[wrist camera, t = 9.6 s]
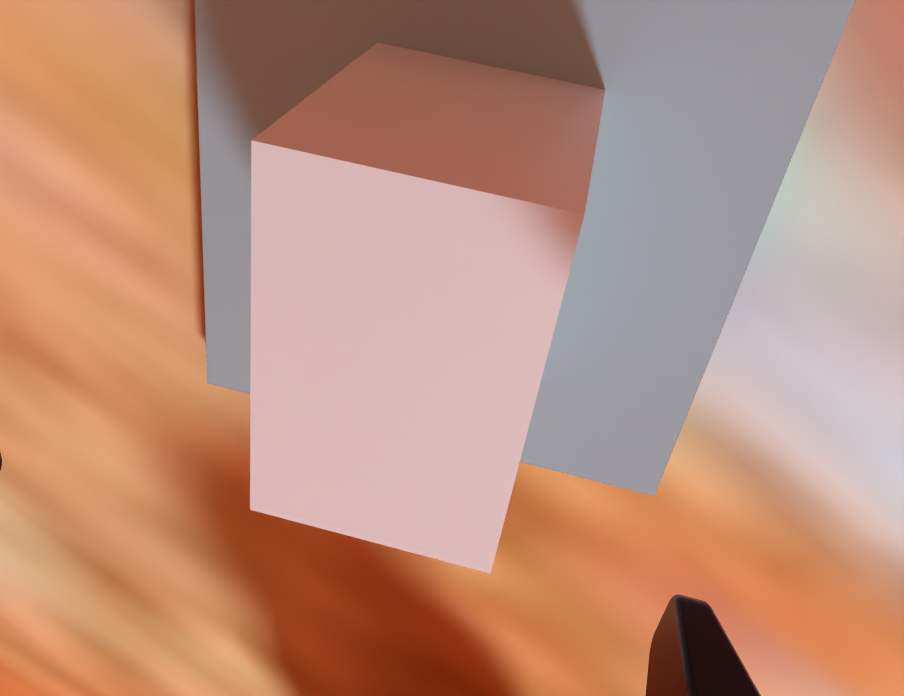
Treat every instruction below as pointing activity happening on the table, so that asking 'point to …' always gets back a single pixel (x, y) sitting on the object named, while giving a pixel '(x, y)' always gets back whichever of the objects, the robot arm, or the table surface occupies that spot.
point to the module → (410, 294)
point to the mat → (610, 192)
